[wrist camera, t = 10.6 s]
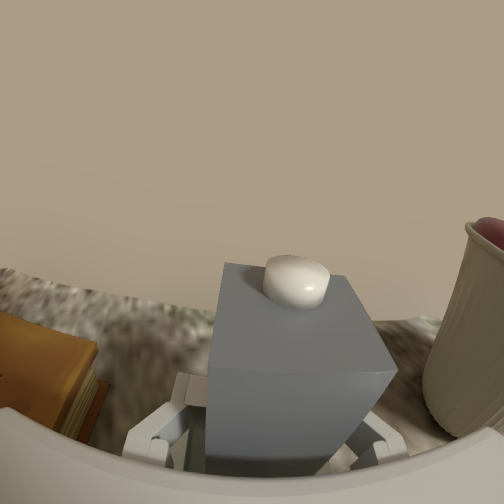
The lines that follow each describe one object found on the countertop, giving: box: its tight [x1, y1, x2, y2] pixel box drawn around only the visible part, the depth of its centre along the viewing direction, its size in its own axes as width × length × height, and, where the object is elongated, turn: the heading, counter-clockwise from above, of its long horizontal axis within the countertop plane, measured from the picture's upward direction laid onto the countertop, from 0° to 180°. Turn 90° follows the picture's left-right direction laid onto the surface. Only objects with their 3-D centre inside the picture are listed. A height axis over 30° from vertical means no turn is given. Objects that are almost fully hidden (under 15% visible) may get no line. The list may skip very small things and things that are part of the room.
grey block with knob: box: [205, 255, 398, 478], centre depth 10 cm, size 5×5×13 cm
